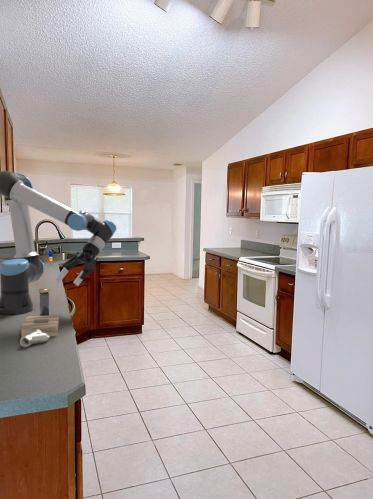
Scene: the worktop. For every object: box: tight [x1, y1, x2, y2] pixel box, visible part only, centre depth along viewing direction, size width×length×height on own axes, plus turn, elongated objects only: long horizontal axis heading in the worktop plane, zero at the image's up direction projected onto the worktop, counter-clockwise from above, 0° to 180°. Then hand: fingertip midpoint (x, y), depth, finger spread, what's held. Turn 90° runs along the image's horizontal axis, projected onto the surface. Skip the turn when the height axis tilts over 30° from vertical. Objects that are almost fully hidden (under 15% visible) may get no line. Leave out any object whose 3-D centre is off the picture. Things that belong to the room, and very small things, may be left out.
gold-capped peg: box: [38, 287, 51, 316], centre depth 148 cm, size 4×4×13 cm
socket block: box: [20, 314, 60, 338], centre depth 134 cm, size 14×12×4 cm
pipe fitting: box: [19, 330, 51, 348], centre depth 121 cm, size 8×4×7 cm
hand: (66, 282), depth 156 cm, fingers open, 13 cm apart
